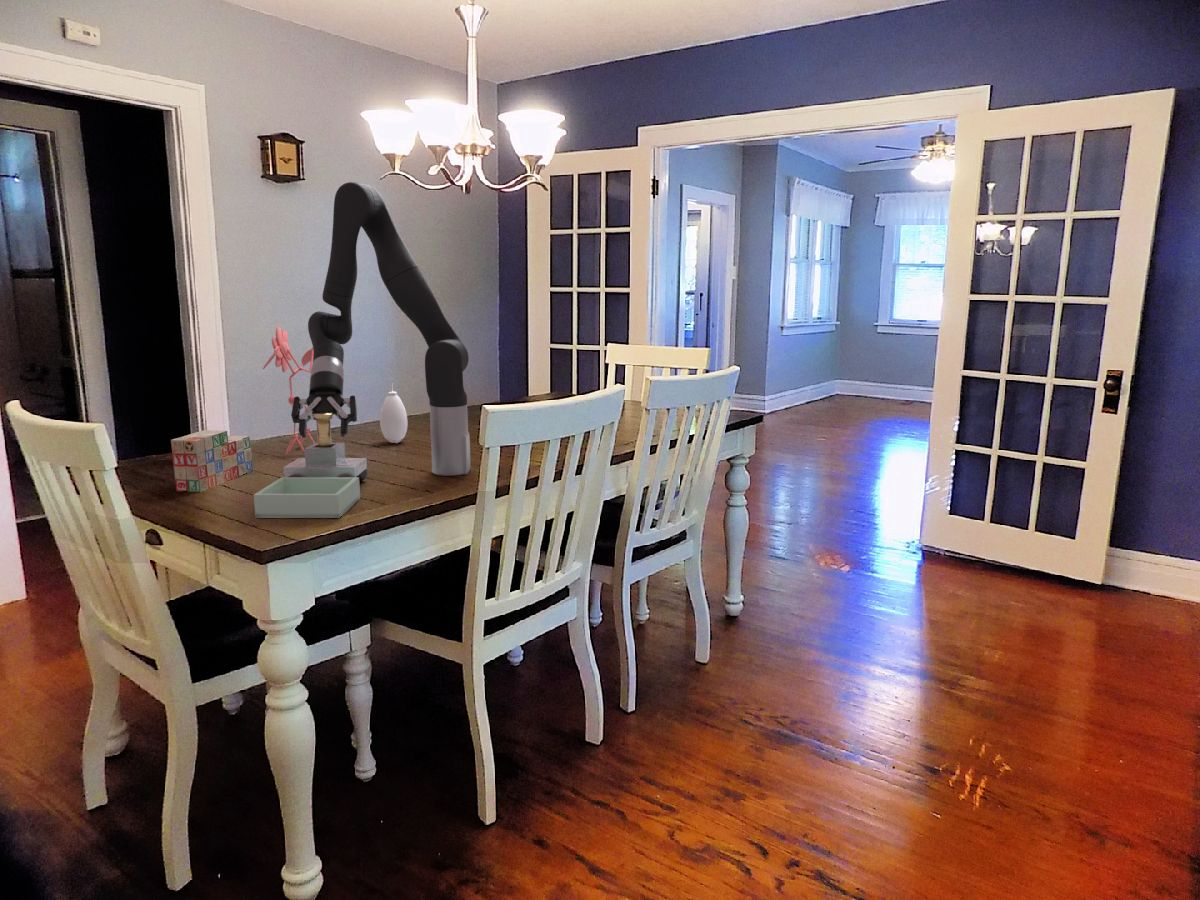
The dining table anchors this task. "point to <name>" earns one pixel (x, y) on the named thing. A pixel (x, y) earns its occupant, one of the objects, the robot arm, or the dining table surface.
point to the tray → (307, 497)
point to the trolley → (327, 463)
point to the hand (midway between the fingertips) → (323, 435)
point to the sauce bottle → (393, 418)
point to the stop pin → (323, 428)
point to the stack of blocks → (209, 459)
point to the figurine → (282, 355)
